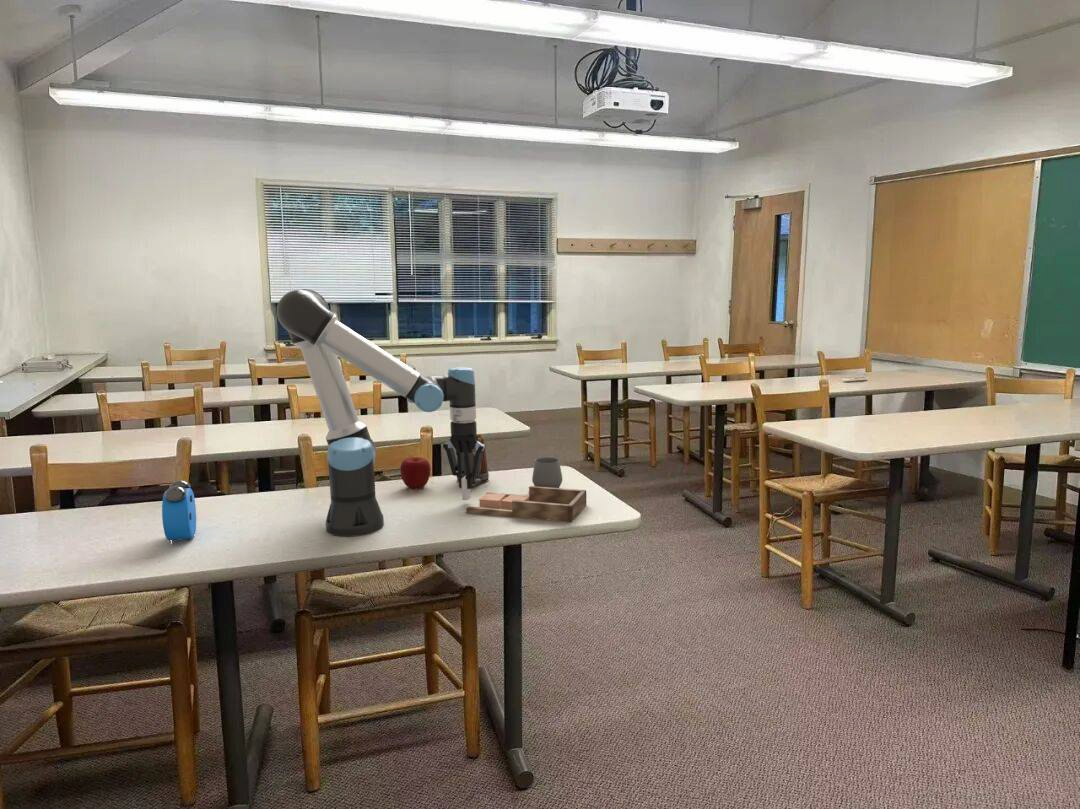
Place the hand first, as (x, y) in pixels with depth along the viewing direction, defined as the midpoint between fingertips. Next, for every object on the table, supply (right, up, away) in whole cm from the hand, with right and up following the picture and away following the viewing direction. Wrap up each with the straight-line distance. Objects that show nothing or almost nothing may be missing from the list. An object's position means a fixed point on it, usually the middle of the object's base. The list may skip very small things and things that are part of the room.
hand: (466, 498), depth 211 cm
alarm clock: (-71, -7, -25) cm, 76 cm away
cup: (+24, +1, +11) cm, 27 cm away
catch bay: (+18, -2, -6) cm, 19 cm away
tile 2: (+15, -2, -5) cm, 16 cm away
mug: (0, +2, +22) cm, 22 cm away
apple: (-18, +1, +18) cm, 25 cm away
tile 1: (+8, -2, -2) cm, 9 cm away
